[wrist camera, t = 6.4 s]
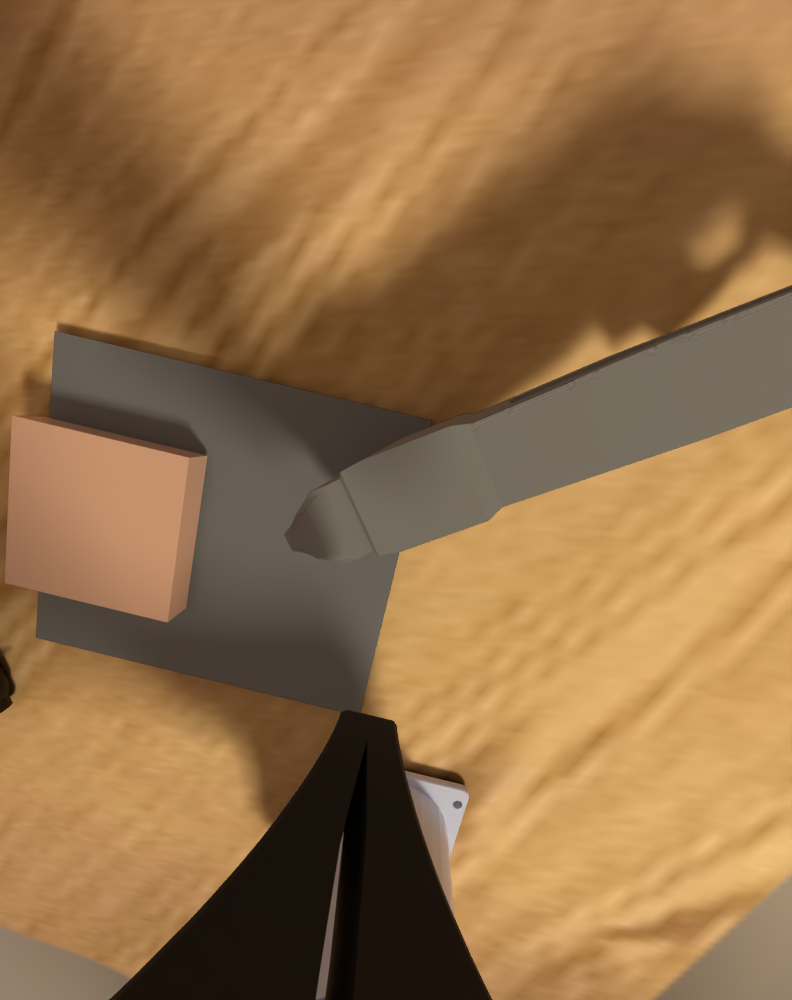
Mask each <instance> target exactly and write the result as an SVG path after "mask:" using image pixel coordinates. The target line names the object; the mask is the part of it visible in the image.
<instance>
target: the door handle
mask: <svg viewBox="0 0 792 1000" xmlns="http://www.w3.org/2000/svg"><path fill="white" fill-rule="evenodd" d="M8 692H9V682H8V679H7V677H6V675H5V674H4V672H3V670H2V668H1V667H0V713H1V712H3V711H4V710H6V709H7V708H8V707H9V706H10V705H11V704H12V703H13V702H12V700H11V698H10V697H9V695H8Z"/></svg>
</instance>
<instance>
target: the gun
mask: <svg viewBox="0 0 792 1000" xmlns="http://www.w3.org/2000/svg"><path fill="white" fill-rule="evenodd" d="M791 407H792V285H791V286H788V287H786V288H783V289H780V290H778V291H775V292H773V293H770V294H768V295H765V296H762V297H760V298H757V299H755V300H752V301H750V302H747V303H745V304H742V305H739V306H737V307H734V308H732V309H729V310H727V311H724V312H721V313H719V314H716V315H714V316H711V317H709V318H706V319H703V320H701V321H698V322H696V323H693V324H691V325H688V326H685V327H683V328H680V329H678V330H675V331H673V332H670V333H667V334H665V335H662V336H660V337H657V338H655V339H652V340H650V341H647V342H644V343H642V344H639V345H637V346H634V347H632V348H629V349H626V350H624V351H621V352H619V353H616V354H614V355H611V356H609V357H606V358H604V359H602V360H599V361H597V362H595V363H592V364H590V365H588V366H585V367H583V368H581V369H578V370H576V371H573V372H571V373H569V374H566V375H564V376H562V377H559V378H557V379H555V380H552V381H550V382H548V383H545V384H543V385H541V386H538V387H536V388H534V389H531V390H529V391H527V392H524V393H522V394H519V395H517V396H515V397H512V398H510V399H508V400H505V401H503V402H501V403H498V404H496V405H494V406H491V407H489V408H487V409H484V410H482V411H480V412H477V413H469V414H462V415H459V416H456V417H454V418H451V419H449V420H446V421H444V422H441V423H438V424H436V425H433V426H431V427H428V428H426V429H423V430H421V431H418V432H415V433H413V434H410V435H408V436H405V437H403V438H401V439H399V440H398V441H396V442H394V443H392V444H390V445H388V446H387V447H385V448H383V449H381V450H379V451H378V452H376V453H374V454H372V455H370V456H368V457H367V458H365V459H363V460H361V461H359V462H358V463H356V464H354V465H352V466H350V467H349V468H347V469H345V470H343V471H341V472H340V475H339V476H337V477H335V478H333V479H332V480H330V481H328V482H326V483H325V484H323V485H321V486H319V487H318V488H316V489H314V490H312V491H311V492H309V493H307V496H306V499H305V501H304V502H303V504H302V506H301V507H300V509H299V510H298V512H297V513H296V515H295V518H294V520H293V523H292V525H291V526H290V527H289V529H288V530H287V531H286V532H285V534H284V536H285V538H286V540H287V542H288V544H289V546H290V548H291V550H292V551H295V552H302V553H306V554H308V555H311V556H313V557H315V558H317V559H321V560H328V561H334V562H337V563H339V564H341V565H342V564H345V563H348V562H351V561H354V560H357V559H359V558H361V557H363V556H364V555H366V554H368V553H369V552H371V551H374V552H375V553H376V554H377V555H378V556H382V555H387V554H391V553H396V552H401V551H404V550H407V549H410V548H413V547H415V546H418V545H421V544H424V543H427V542H430V541H432V540H435V539H438V538H441V537H444V536H447V535H449V534H452V533H455V532H458V531H461V530H464V529H466V528H469V527H472V526H475V525H478V524H481V523H483V522H486V521H488V520H489V519H491V518H492V517H493V516H494V515H495V514H496V513H497V512H498V511H499V510H500V509H501V508H502V507H504V506H507V505H510V504H513V503H516V502H519V501H522V500H525V499H528V498H531V497H534V496H537V495H540V494H543V493H546V492H549V491H552V490H555V489H558V488H561V487H564V486H567V485H570V484H573V483H576V482H578V481H581V480H584V479H587V478H590V477H593V476H596V475H599V474H602V473H605V472H608V471H611V470H614V469H617V468H620V467H623V466H626V465H629V464H632V463H635V462H638V461H641V460H644V459H647V458H650V457H653V456H656V455H659V454H662V453H664V452H667V451H670V450H673V449H676V448H679V447H682V446H685V445H688V444H691V443H694V442H697V441H700V440H703V439H706V438H709V437H711V436H714V435H717V434H720V433H722V432H725V431H728V430H731V429H734V428H736V427H739V426H742V425H745V424H747V423H750V422H753V421H756V420H758V419H761V418H764V417H767V416H769V415H772V414H775V413H778V412H780V411H783V410H786V409H789V408H791Z"/></svg>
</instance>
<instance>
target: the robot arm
mask: <svg viewBox="0 0 792 1000" xmlns="http://www.w3.org/2000/svg"><path fill="white" fill-rule="evenodd" d="M468 799H469V794H468V789H467V788H466V787H465V786H464V785H462V784H458V783H454V782H450V781H446V780H441V779H437V778H433V777H429V776H425V775H421V774H417V773H413V772H409V771H405V769H404V765H403V760H402V756H401V751H400V746H399V740H398V733H397V726H396V724H395V722H394V721H392V720H388V719H384V718H379V717H375V716H371V715H367V714H363V713H359V712H354V711H350V710H345V711H343V712H341V714H340V717H339V720H338V722H337V725H336V727H335V729H334V731H333V733H332V735H331V737H330V739H329V741H328V743H327V744H326V746H325V748H324V750H323V751H322V753H321V755H320V756H319V758H318V760H317V761H316V763H315V764H314V766H313V768H312V769H311V771H310V772H309V774H308V775H307V777H306V779H305V780H304V782H303V783H302V785H301V786H300V787H299V789H298V790H297V792H296V793H295V794H294V796H293V797H292V798H291V800H290V801H289V803H288V804H287V805H286V807H285V808H284V810H283V811H282V812H281V814H280V815H279V816H278V818H277V819H276V820H275V822H274V823H273V824H272V826H271V827H270V828H269V829H268V831H267V832H266V833H265V835H264V836H263V837H262V838H261V840H260V841H259V842H258V843H257V844H256V846H255V847H254V848H253V849H252V851H251V852H250V853H249V854H248V855H247V857H246V858H245V859H244V860H243V861H242V863H241V864H240V865H239V866H238V867H237V868H236V869H235V871H234V872H233V873H232V874H231V875H230V876H229V877H228V878H227V880H226V881H225V882H224V883H223V884H222V885H221V886H220V887H219V889H218V890H217V891H216V892H215V893H214V894H213V895H212V896H211V898H210V899H209V900H208V901H207V902H206V903H205V904H204V905H203V906H202V907H201V908H200V910H199V911H198V912H197V913H196V914H195V915H194V916H193V917H192V918H191V919H190V920H189V921H188V922H187V923H186V924H185V925H184V926H183V927H182V928H181V929H180V930H179V931H178V932H177V933H176V934H175V935H174V936H173V937H172V938H171V939H170V940H169V941H168V942H167V943H166V944H165V945H164V946H163V947H162V948H161V949H160V950H159V951H158V952H157V953H156V954H155V955H154V956H153V958H152V959H151V960H150V961H149V962H148V963H147V964H146V965H145V966H144V967H143V968H142V969H141V970H140V971H139V972H138V973H137V974H136V975H135V976H134V977H133V978H132V979H131V980H129V981H128V983H126V984H125V985H124V986H123V987H122V988H121V989H120V990H119V991H118V992H117V993H116V994H115V995H114V996H113V997H112V998H111V999H110V1000H492V998H491V996H490V994H489V992H488V990H487V988H486V986H485V984H484V982H483V980H482V978H481V976H480V974H479V972H478V970H477V967H476V965H475V963H474V961H473V959H472V957H471V955H470V952H469V950H468V948H467V946H466V943H465V941H464V939H463V936H462V934H461V932H460V929H459V927H458V925H457V923H456V920H455V918H454V906H453V894H452V881H451V869H450V855H451V852H452V849H453V845H454V842H455V839H456V836H457V833H458V830H459V827H460V824H461V821H462V818H463V814H464V811H465V808H466V805H467V802H468ZM455 801H459V802H455Z"/></svg>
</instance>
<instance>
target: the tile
mask: <svg viewBox="0 0 792 1000" xmlns="http://www.w3.org/2000/svg"><path fill="white" fill-rule="evenodd" d="M206 463H207V455H203V454H199V453H194V452H190V451H186V450H182V449H178V448H173V447H169V446H165V445H161V444H157V443H153V442H148V441H144V440H140V439H136V438H132V437H127V436H123V435H119V434H115V433H111V432H107V431H102V430H98V429H94V428H90V427H86V426H81V425H77V424H73V423H69V422H65V421H60V420H56V419H52V418H48V417H40V416H15V415H12V423H11V446H10V470H9V493H8V516H7V539H6V562H5V583H6V584H11V585H15V586H19V587H23V588H27V589H31V590H35V591H39V592H44V593H48V594H52V595H56V596H60V597H64V598H68V599H73V600H77V601H81V602H85V603H89V604H93V605H97V606H102V607H106V608H110V609H114V610H118V611H122V612H126V613H130V614H135V615H139V616H143V617H147V618H151V619H155V620H159V621H164V622H169V621H170V620H171V619H173V618H174V617H175V616H177V615H178V614H179V613H180V612H182V611H183V610H184V609H186V606H187V598H188V591H189V584H190V577H191V570H192V563H193V556H194V549H195V541H196V534H197V527H198V520H199V513H200V506H201V499H202V491H203V484H204V477H205V470H206Z"/></svg>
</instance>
